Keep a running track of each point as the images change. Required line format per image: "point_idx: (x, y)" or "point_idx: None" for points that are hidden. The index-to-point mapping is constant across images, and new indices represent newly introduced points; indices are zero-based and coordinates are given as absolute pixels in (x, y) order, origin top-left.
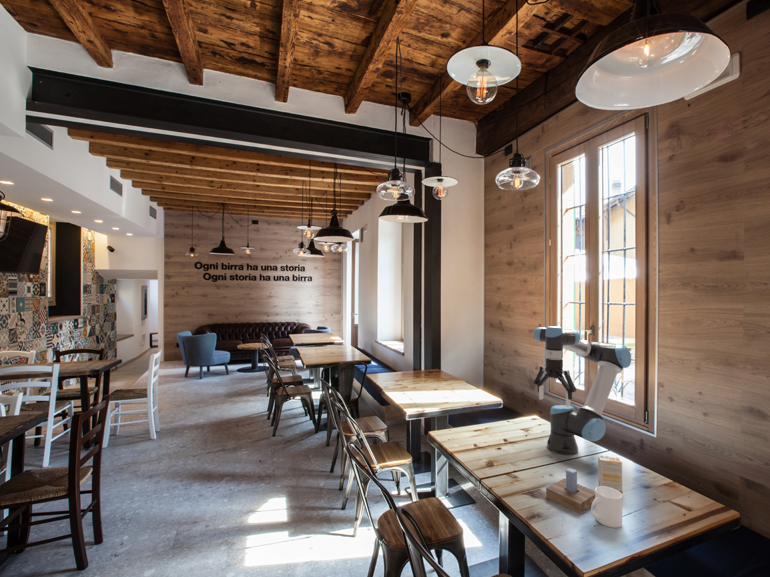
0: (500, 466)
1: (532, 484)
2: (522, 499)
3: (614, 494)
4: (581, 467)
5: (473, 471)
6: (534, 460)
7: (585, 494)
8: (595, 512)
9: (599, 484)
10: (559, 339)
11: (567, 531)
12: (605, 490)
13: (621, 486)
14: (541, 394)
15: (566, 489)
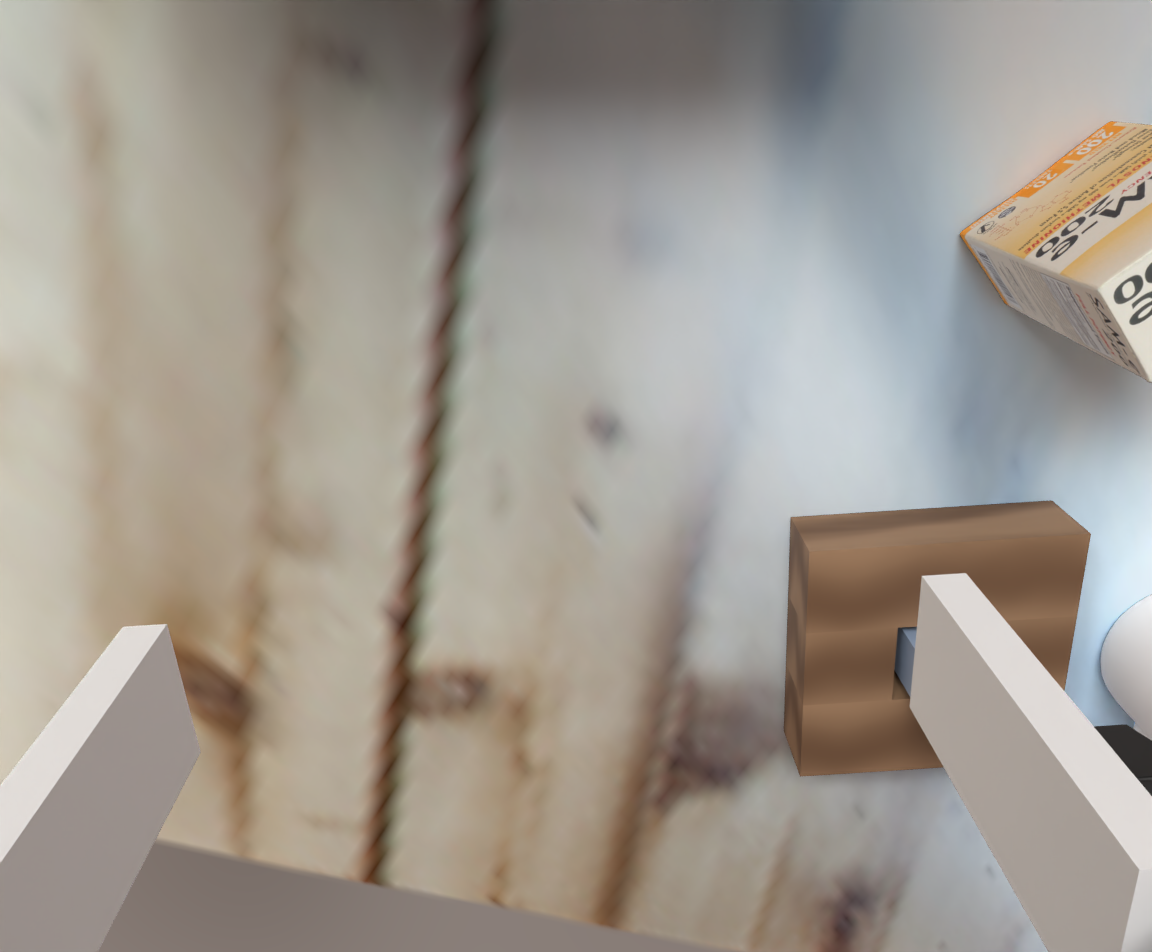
0: (286, 656)
1: (622, 671)
2: (704, 854)
3: None
4: (688, 6)
5: (262, 860)
6: (331, 306)
7: (1033, 636)
8: (1128, 714)
9: (987, 269)
10: None
11: None
12: None
13: None
14: (133, 809)
15: (908, 687)
